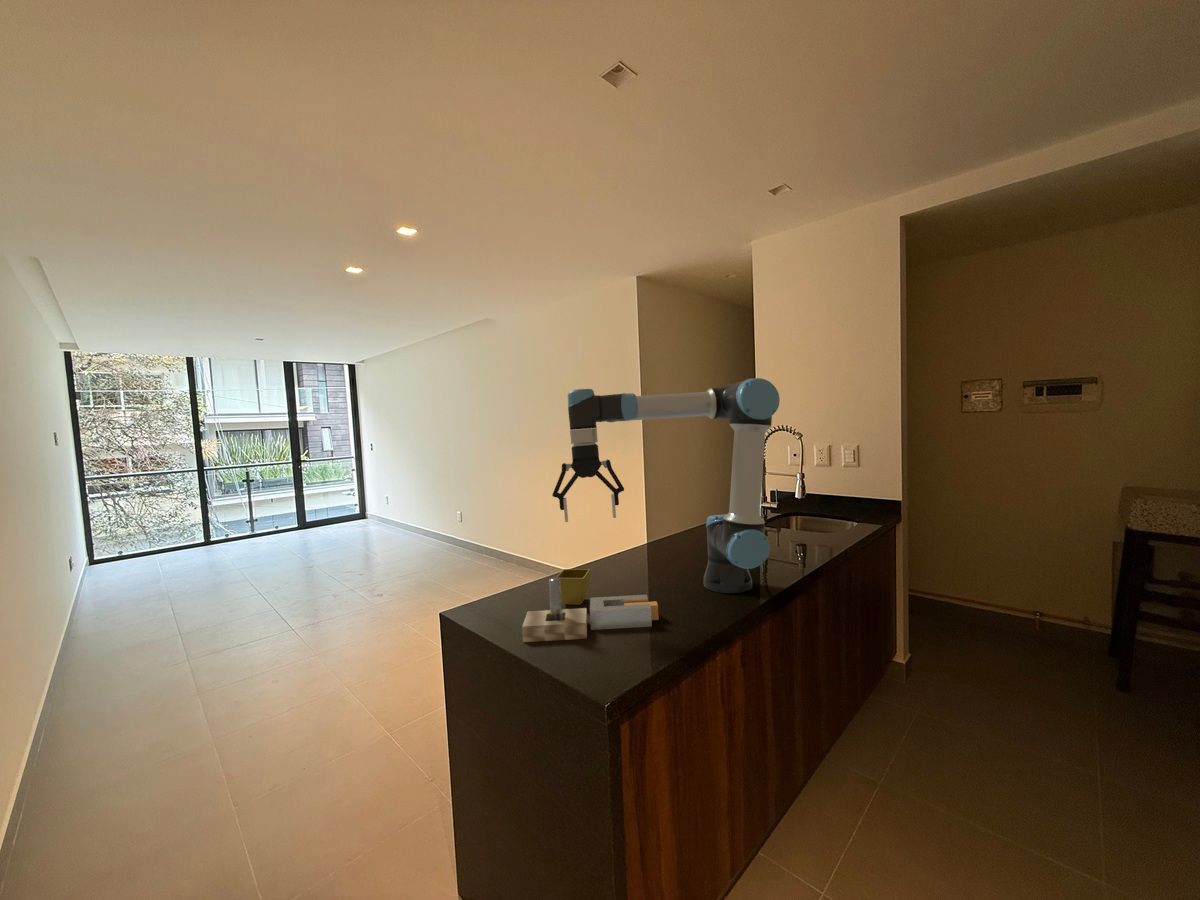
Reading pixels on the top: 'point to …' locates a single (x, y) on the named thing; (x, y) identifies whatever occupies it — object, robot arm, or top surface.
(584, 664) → the top surface
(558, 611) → the drill peg
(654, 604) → the drift key
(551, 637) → the rack block
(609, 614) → the socket block
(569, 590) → the flower pot
